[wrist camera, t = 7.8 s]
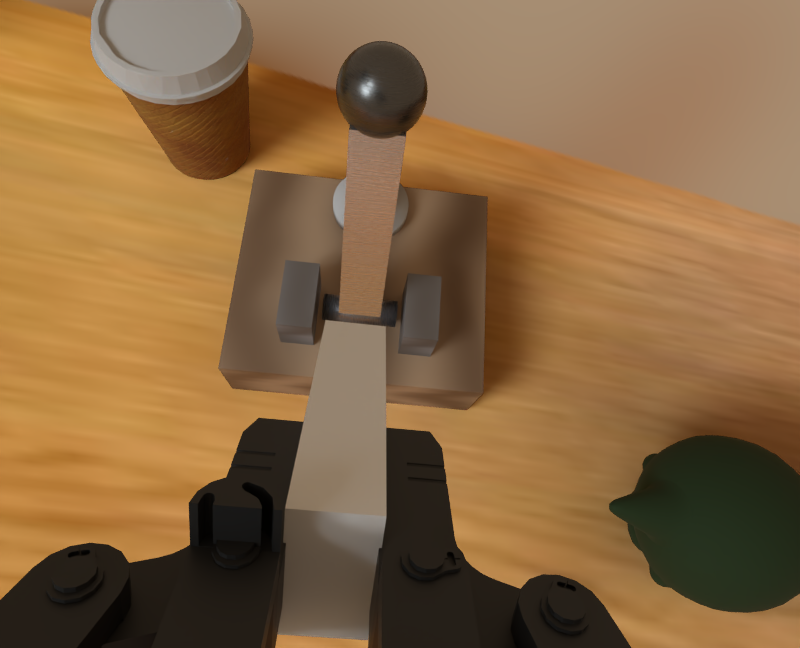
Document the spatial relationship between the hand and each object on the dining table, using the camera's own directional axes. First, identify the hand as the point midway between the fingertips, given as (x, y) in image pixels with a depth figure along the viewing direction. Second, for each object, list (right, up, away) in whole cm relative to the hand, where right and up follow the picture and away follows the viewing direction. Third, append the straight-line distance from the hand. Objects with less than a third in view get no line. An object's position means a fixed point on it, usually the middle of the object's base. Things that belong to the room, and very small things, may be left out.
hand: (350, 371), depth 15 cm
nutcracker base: (-2, +3, +28) cm, 28 cm away
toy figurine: (+24, -13, +25) cm, 37 cm away
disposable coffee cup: (-14, +15, +31) cm, 37 cm away
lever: (-1, +2, +21) cm, 21 cm away
